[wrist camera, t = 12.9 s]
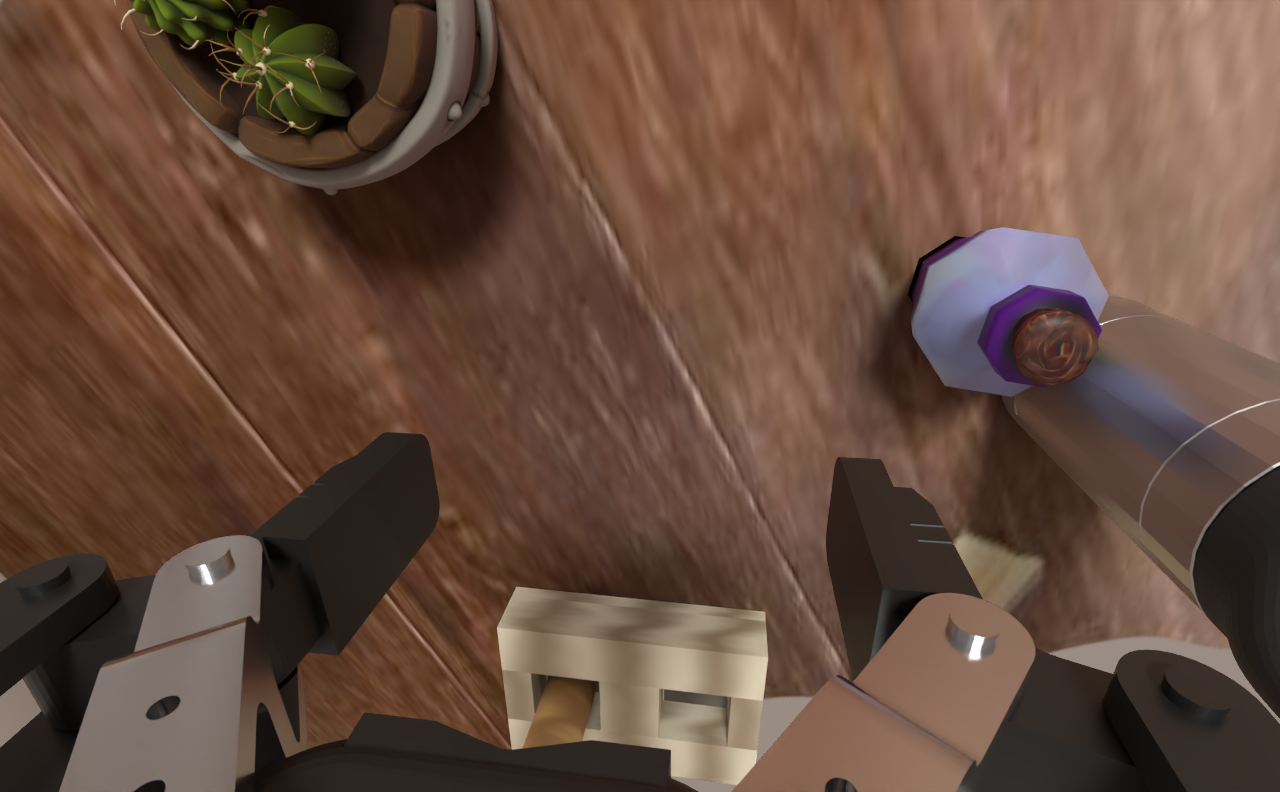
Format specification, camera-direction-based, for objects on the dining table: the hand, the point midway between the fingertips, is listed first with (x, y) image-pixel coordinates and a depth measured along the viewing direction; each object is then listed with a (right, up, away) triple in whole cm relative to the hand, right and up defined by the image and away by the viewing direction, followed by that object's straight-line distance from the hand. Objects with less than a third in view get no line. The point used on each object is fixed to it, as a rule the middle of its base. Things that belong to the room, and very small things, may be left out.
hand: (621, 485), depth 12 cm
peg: (-5, -21, +39) cm, 44 cm away
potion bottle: (+19, +8, +24) cm, 32 cm away
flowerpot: (-13, +22, +23) cm, 34 cm away
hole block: (0, -21, +39) cm, 44 cm away
